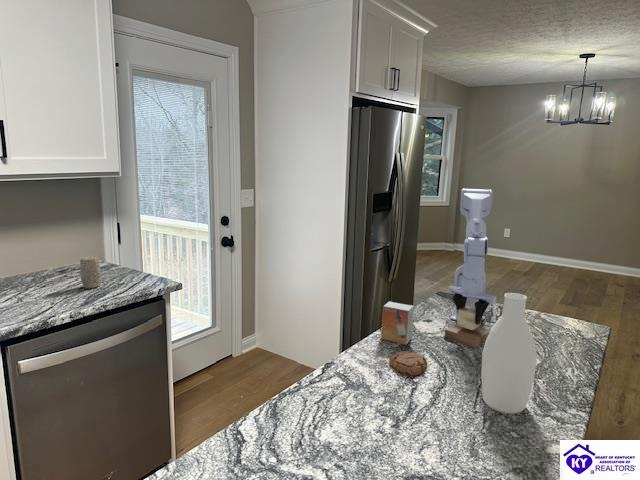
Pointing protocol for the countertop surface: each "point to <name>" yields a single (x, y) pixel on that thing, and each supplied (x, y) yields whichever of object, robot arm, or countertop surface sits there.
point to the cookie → (408, 363)
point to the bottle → (509, 359)
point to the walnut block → (467, 335)
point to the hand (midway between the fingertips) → (469, 321)
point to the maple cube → (467, 318)
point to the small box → (397, 322)
